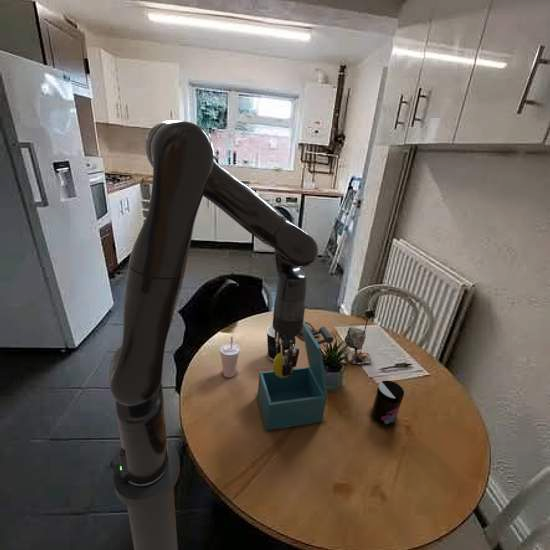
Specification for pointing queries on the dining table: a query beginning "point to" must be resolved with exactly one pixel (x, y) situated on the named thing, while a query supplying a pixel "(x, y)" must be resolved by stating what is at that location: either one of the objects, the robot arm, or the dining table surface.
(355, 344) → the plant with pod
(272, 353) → the dixie cup
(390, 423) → the supplement container
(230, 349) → the smoothie
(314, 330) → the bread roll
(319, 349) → the lid
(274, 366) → the lemon
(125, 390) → the robot arm
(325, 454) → the dining table surface
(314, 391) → the teal lidded box
